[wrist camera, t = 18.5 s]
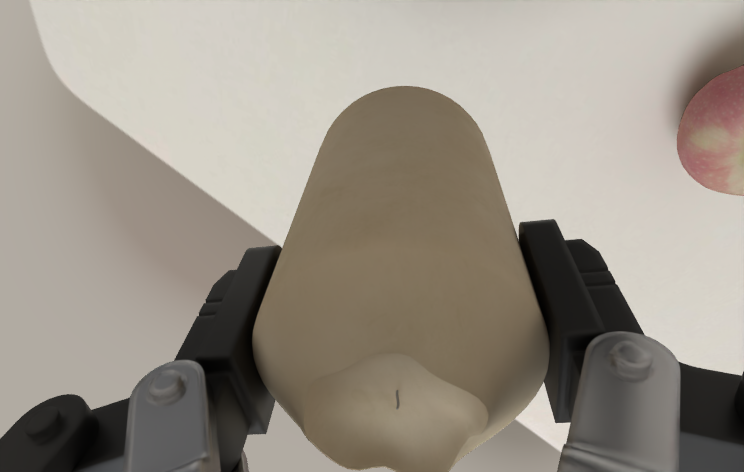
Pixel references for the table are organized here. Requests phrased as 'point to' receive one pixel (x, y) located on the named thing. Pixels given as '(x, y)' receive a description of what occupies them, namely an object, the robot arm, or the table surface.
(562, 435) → the table surface
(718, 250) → the table surface
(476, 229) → the candle
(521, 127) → the table surface
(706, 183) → the apple
